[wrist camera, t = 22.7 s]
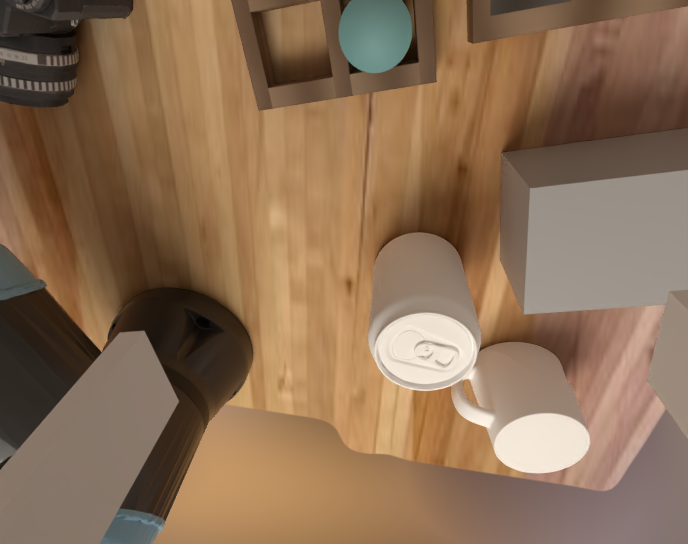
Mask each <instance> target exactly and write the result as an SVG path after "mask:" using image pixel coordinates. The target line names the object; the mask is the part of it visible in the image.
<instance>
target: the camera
mask: <svg viewBox="0 0 688 544" xmlns="http://www.w3.org/2000/svg"><path fill="white" fill-rule="evenodd" d="M132 10H133V0H0V101H3V102H7V103H10V104H16V105H23V106H31V107H58V106H62V105H64V104H66V103H67V102H68V97H70V96H72V95H73V94H74V87H75V86H76V85H77V75H76V73H75V68H76V63H77V62H78V60H79V50H78V49H77V48H76V33H75V32H74V31H73V29H74V28H75V27H76V26H77V24H78V23H79V22H80V21H81V20H82V19H91V18H98V19H107V18H124V19H125V18H126V17H128V16H129V15H130V13H131V12H132Z"/></svg>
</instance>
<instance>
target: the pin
mask: <svg viewBox="0 0 688 544" xmlns="http://www.w3.org/2000/svg"><path fill="white" fill-rule="evenodd" d="M411 39H412V20H411V17H410V14H409V11H408V9H407V7H406V5H405V4H404V3H403V1H402V0H351V1H350V2H349V3H348V5H347V6H346V8H345V9H344V11H343V13H342V16H341V19H340V23H339V42H340V46H341V49H342V51H343V53H344V55H345V57H346V58H347V60H348V61H349V62H350V63H351V64H352V65H353V66H354V67H356V68H357V69H359V70H361V71H364V72H368V73H381V72H385V71H387V70H389V69H391V68H393V67H394V66H396V65H397V64H398V63H399V62H400V61H401V60H402V59H403V57H404V56H405V54H406V53H407V51H408V49H409V46H410V43H411Z"/></svg>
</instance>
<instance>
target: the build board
mask: <svg viewBox="0 0 688 544" xmlns="http://www.w3.org/2000/svg"><path fill="white" fill-rule="evenodd" d="M231 1H232V5H233V9H234V13H235V17H236V21H237V25H238V29H239V33H240V37H241V42H242V46H243V50H244V54H245V58H246V62H247V66H248V70H249V74H250V78H251V82H252V86H253V90H254V94H255V98H256V102H257V106H258V110H259V111H260V110H267V109H273V108H279V107H285V106H291V105H298V104H304V103H310V102H316V101H322V100H329V99H335V98H341V97H347V96H353V95H359V94H366V93H372V92H378V91H384V90H390V89H397V88H403V87H409V86H415V85H421V84H428V83H434V82H437V81H436V62H435V44H434V25H433V7H432V0H413V8H414V22H415V35H416V49H417V60H412V61H406V62H400V63H398V64H397V65H396V66H394V67H393V68H391V69H389V70H387V71H385V72H381V73H368V72H364V71H361V70H354V71H353V70H352V64H351V63H350V62H349V61H348V60H347V58H346V57H345V55H344V53H343V51H342V49H341V46H340V42H339V23H340V19H341V16H342V13H343V11H344V6H343V0H321V7H322V13H323V19H324V25H325V31H326V37H327V44H328V50H329V56H330V62H331V68H332V74H330V75H324V76H319V77H313V78H307V79H301V80H295V81H289V82H284V83H278V84H276V81H275V76H274V72H273V67H272V63H271V58H270V54H269V49H268V45H267V40H266V36H265V31H264V27H263V22H262V18H261V13H260V12H264V11H269V10H274V9H279V8H284V7H289V6H294V5H299V4H304V3H309V2H314V1H319V0H231Z"/></svg>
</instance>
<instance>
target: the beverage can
mask: <svg viewBox="0 0 688 544" xmlns="http://www.w3.org/2000/svg"><path fill="white" fill-rule="evenodd" d="M368 343H369V348H370V351H371V354H372V356H373V358H374V359H375V361H376V364H377V366H378V368H379V369H380V371H381V372H382V373H383V374H384V375H385V376H386V377H387V378H388V379H389V380H391V381H392V382H394V383H396V384H398V385H400V386H402V387H405V388H408V389H413V390H421V391H430V390H438V389H442V388H446V387H449V386H451V385H453V384H455V383H457V382H459V381H460V380H462V379H463V378H464V377H465V376H466V375H467V374H468V373H469V372H470V371H471V369H472V368H473V366H474V364H475V362H476V359H477V355H478V352H479V349H480V345H481V330H480V326H479V323H478V319H477V315H476V312H475V308H474V305H473V301H472V297H471V294H470V290H469V286H468V283H467V279H466V276H465V272H464V268H463V265H462V261H461V258H460V256H459V254H458V252H457V251H456V249H455V248H454V247H453V246H452V245H451V244H450V243H449V242H448V241H446V240H445V239H443V238H441V237H439V236H437V235H434V234H430V233H422V232H417V233H409V234H405V235H402V236H399V237H397V238H395V239H393V240H392V241H390V242H389V243H388V244H386V245H385V246H384V247H383V248H382V250H381V251H380V252H379V254H378V256H377V258H376V260H375V264H374V270H373V282H372V295H371V307H370V320H369V332H368Z"/></svg>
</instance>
